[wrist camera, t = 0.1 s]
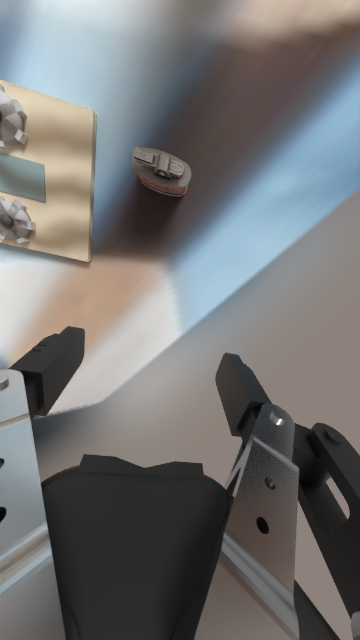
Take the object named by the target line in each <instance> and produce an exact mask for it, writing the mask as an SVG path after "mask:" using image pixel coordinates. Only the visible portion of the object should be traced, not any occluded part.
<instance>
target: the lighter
mask: <svg viewBox="0 0 360 640" xmlns="http://www.w3.org/2000/svg"><path fill="white" fill-rule="evenodd" d="M131 165H132V167H133V169H134V170H135V171H136V172H137V173H138V176H139V179H140V181H141V183H142V184H143V185H145V186H147V187H148V188H150V189H152V190H154V191H156V192H159V193H161V194H165V195H169V196H178V197H180V196H183V195H184V194H185V192H186V189H187V185H188V184H189V181H190V179H191V169H190V167H189V166H188V165H187V164H186V163H185V162H183V161H181V160H180V159H178V158H177V157H175V156H173V155H170V154H168V153H166V152H164V151H160V150H156V149H153V148H146V147H136V148H135V149H134V150H133V151H132V154H131Z"/></svg>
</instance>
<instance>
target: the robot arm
mask: <svg viewBox="0 0 360 640" xmlns="http://www.w3.org/2000/svg"><path fill="white" fill-rule="evenodd" d="M84 344H85V331H84V329H82V328H76V327H70V326H68V327H66V328H65V329H64V330H63V331H62V332H61V333H60V334H53V335H51V336H48V337H46V338H44V339H43V340H42V341H41V342H39V343H38V345H36V346H35V347H34V348H32V350H31V351H29V352H28V353H27V354H25V355H24V356H23V357H22V358H21V359H19V360H18V361H17V362H16V363H15V364H14V365H12V366H11V367H10V368H9V369H5V370H0V640H340V639H339V637H338V636H337V635H336V634H335V632H334V631H333V630H332V628H331V627H330V626H329V624H328V623H327V622H326V620H325V619H324V618H323V616H322V615H321V614H320V612H319V611H318V610H317V608H316V607H315V606H314V605H313V603H312V602H311V600H310V599H309V598H308V596H307V595H306V594H305V592H304V591H303V590H302V588H301V587H300V586H299V584H298V583H297V582H296V581H295V579H294V569H295V549H296V548H295V547H296V527H297V506H298V505H297V504H298V500H299V503H300V505H301V507H302V510H303V512H304V514H305V516H306V519H307V521H308V523H309V526H310V528H311V530H312V532H313V535H314V537H315V539H316V541H317V544H318V546H319V548H320V551H321V552H322V555H323V557H324V560H325V562H326V564H327V566H328V569H329V571H330V573H331V575H332V578H333V580H334V582H335V585H336V587H337V589H338V591H339V593H340V596H341V598H342V600H343V603H344V605H345V607H346V610H347V612H348V614H349V616H350V619H351V630H352V636H353V640H360V455H359V454H358V453H357V452H356V451H355V449H354V448H353V447H352V446H351V444H350V443H349V442H348V441H347V440H346V439H345V437H344V436H343V435H342V434H340V433H339V432H338V431H337V430H335V429H334V428H332V427H330V426H328V425H326V424H323V423H316V424H315V425H314V426H313V427H312V428H311V429H308V428H306V427H303V426H301V425H298V424H296V423H294V421H293V419H292V418H291V416H290V415H289V414H288V413H287V412H286V411H285V410H283V409H282V408H280V407H279V406H277V405H274V404H272V403H271V401H270V400H269V398H268V396H267V395H266V393H265V391H264V390H263V388H262V386H261V385H260V383H259V382H258V380H257V379H256V376H255V374H254V373H253V371H252V370H251V369H250V368H249V367H248V366H247V365H246V364H243V362H242V360H241V359H240V357H239V355H236V354H230V353H225V354H224V355H223V358H222V360H221V363H220V365H219V368H218V370H217V373H216V385H217V389H218V392H219V395H220V398H221V401H222V405H223V408H224V411H225V414H226V418H227V421H228V424H229V427H230V431H231V434H232V436H239V437H241V438H242V443H241V445H240V447H239V450H238V453H237V455H236V458H235V460H234V463H233V465H232V468H231V471H230V473H229V476H228V479H227V481H226V483H225V485H224V487H223V486H222V485H220V484H219V483H218V482H216V481H215V480H214V479H212V478H210V477H208V476H206V475H204V473H203V466H202V463H189V462H176V461H175V462H170V463H166V464H161V465H157V466H153V467H148V468H143V467H140V466H138V465H135V464H132V463H130V462H127V461H124V460H122V459H119V458H117V457H112V456H99V455H86V454H84V456H83V458H82V461H81V463H80V465H78V466H74V467H71V468H68V469H65V470H63V471H61V472H58V473H56V474H54V475H53V476H51V477H49V478H47V479H46V480H44V481H43V482H41V483H40V478H39V471H38V465H37V458H36V452H35V446H34V440H33V434H32V428H31V420H32V419H33V418H34V416H35V415H40V416H46V415H47V414H48V412H49V411H50V409H51V408H52V406H53V405H54V403H55V402H56V400H57V399H58V397H59V396H60V394H61V393H62V391H63V390H64V388H65V387H66V385H67V384H68V382H69V381H70V379H71V378H72V376H73V375H74V373H75V372H76V370H77V369H78V367H79V366H80V364H81V363H82V360H83V357H84ZM330 477H332V479H333V480H334V482H335V483H336V485H337V487H338V488H339V490H340V492H341V493H342V495H343V496H344V498H345V500H346V501H347V504H348V506H349V510H350V516H349V519H348V520H347V518H346V516H345V514H344V513H343V511H342V509H341V508H340V506H339V504H338V502H337V501H336V499H335V497H334V496H333V494H332V492H331V490H330V489H329V487H328V485H327V484H326V481H327V480H328V479H329V478H330Z"/></svg>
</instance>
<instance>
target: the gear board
mask: <svg viewBox="0 0 360 640" xmlns="http://www.w3.org/2000/svg"><path fill="white" fill-rule="evenodd" d="M96 126H97V116H96V114H95V112H94V111H93V110H91V109H88V108H85V107H82V106H79V105H76V104H73V103H70V102H67V101H64V100H61V99H58V98H54V97H51V96H48V95H45V94H42V93H39V92H36V91H33V90H30V89H27V88H24V87H21V86H18V85H15V84H12V83H9V82H6V81H3V80H0V243H5V244H9V245H14V246H18V247H23V248H27V249H32V250H36V251H41V252H45V253H50V254H54V255H59V256H64V257H68V258H73V259H77V260H82V261H86V262H89V261H91V248H92V224H93V199H94V175H95V151H96Z"/></svg>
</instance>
